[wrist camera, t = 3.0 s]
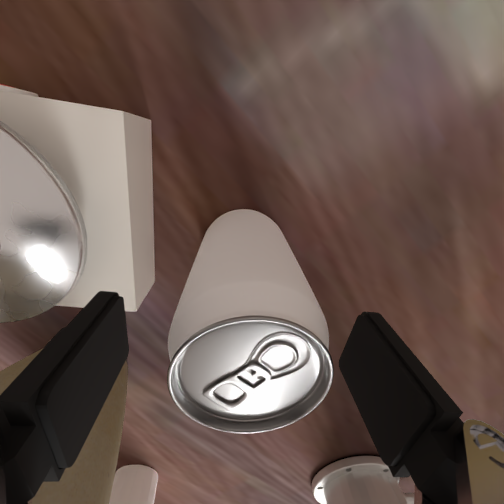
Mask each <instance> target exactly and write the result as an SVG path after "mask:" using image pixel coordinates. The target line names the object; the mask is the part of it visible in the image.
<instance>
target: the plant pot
mask: <svg viewBox="0 0 504 504" xmlns="http://www.w3.org/2000/svg"><path fill="white" fill-rule="evenodd" d="M41 350H42V349H41ZM41 350H39V351H37V352H35V353H33V354H31V355H29V356H28V357H26V358H24V359H22V360H20V361H18V362H16V363H15V364H13V365H11V366H9V367H7V368H5V369H4V370H2V371H0V395H1V394H2V393H3V391H4V390H5V389H6V388H7V387H8V386H9V385H10V384H11V383H12V382H13V381H14V380H15V379H16V377H17V376H18V375H19V374H20V373H21V372H22V371H23V370H24V369H25V368H26V367H27V366H28V365H29V363H30V362H31V361H32V360H33V359H34V358H35V357H36V356H37V355H38V354H39V353H40V352H41ZM127 379H128V366H127V362H126V361H125V363H124V365H123V367H122V369H121V371H120V373H119V375H118V377H117V379H116V381H115V383H114V385H113V387H112V389H111V391H110V393H109V395H108V397H107V399H106V401H105V403H104V405H103V407H102V409H101V411H100V413H99V415H98V417H97V419H96V421H95V423H94V425H93V427H92V429H91V431H90V433H89V435H88V437H87V439H86V441H85V443H84V445H83V447H82V449H81V451H80V453H79V455H78V457H77V459H76V461H75V463H74V464H73V465H72V466H71V467H70V468H66V469H65V471H64V473H63V475H62V477H61V479H60V481H59V482H43V483H42V484H41V486H40V488H39V490H38V492H37V493H36V495H35V497H33V498H32V504H109V501H110V496H111V492H112V487H113V482H114V477H115V471H116V466H117V460H118V454H119V448H120V442H121V436H122V429H123V421H124V413H125V404H126V394H127Z"/></svg>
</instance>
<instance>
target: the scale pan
mask: <svg viewBox="0 0 504 504" xmlns="http://www.w3.org/2000/svg"><path fill="white" fill-rule="evenodd" d="M87 252H88V243H87V233H86V229H85V224H84V220H83V218H82V215H81V212H80V209H79V207H78V205H77V203H76V201H75V199H74V197H73V195H72V193H71V191H70V190H69V188H68V187H67V185H66V184H65V182H64V180H63V179H62V177H61V176H60V175H59V174H58V172H57V171H56V170H55V169H54V167H53V166H52V165H51V164H50V162H49V161H48V160H47V159H46V158H45V157H44V156H43V155H42V154H41V153H40V152H39V151H38V150H37V149H36V148H35V147H34V146H33V145H31V144H30V143H29V142H28V141H27V140H26V139H24V138H23V137H22V136H21V135H20V134H18V133H17V132H16V131H14V130H13V129H11V128H10V127H9V126H7V125H6V124H4V123H3V122H2V121H0V323H2V322H14V321H19V320H25V319H28V318H31V317H34V316H37V315H39V314H41V313H43V312H45V311H47V310H49V309H50V308H52V307H53V306H55V305H56V304H57V303H58V302H60V301H61V300H62V299H63V298H64V297H65V296H67V295H68V294H69V293H70V292H71V291H72V290H73V289H74V287H75V286H76V284H77V283H78V282H79V280H80V278H81V276H82V274H83V272H84V269H85V265H86V261H87Z"/></svg>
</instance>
